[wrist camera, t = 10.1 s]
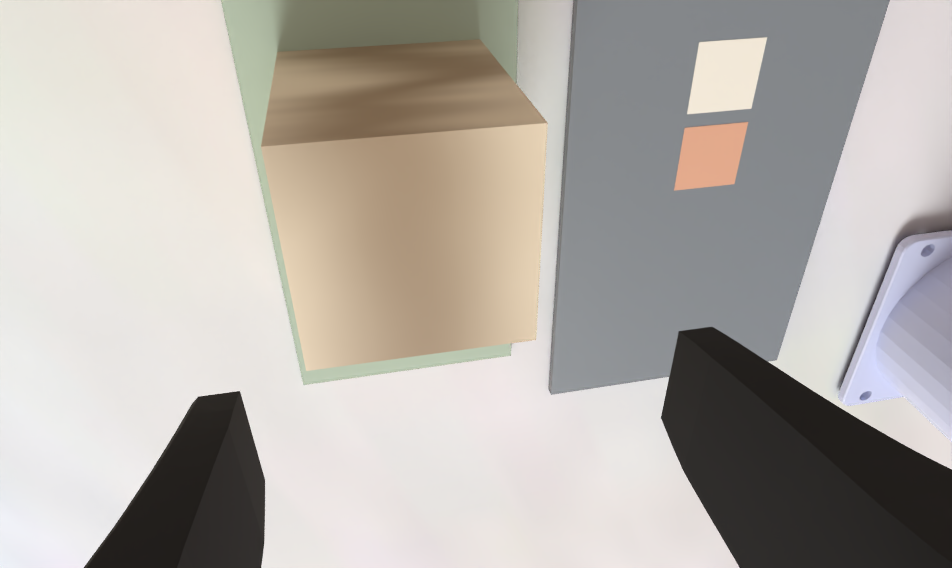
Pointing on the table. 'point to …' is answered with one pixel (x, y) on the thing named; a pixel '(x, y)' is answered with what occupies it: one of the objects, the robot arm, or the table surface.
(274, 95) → the maple block
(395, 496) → the table surface
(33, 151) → the table surface
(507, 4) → the mat
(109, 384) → the table surface
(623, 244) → the grey plate
